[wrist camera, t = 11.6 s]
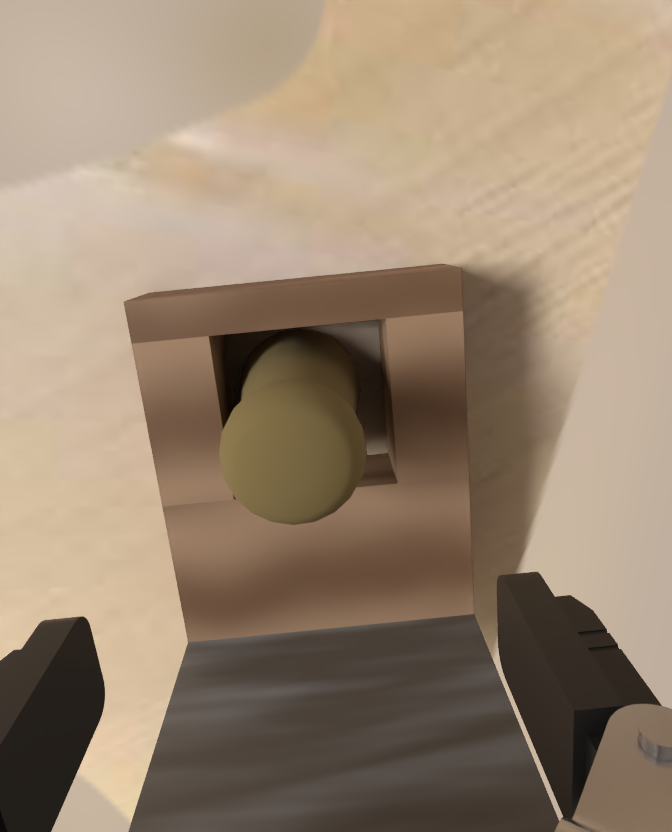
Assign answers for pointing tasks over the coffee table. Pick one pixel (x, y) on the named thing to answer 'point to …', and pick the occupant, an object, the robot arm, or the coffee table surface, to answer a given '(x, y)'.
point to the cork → (295, 429)
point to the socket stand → (327, 590)
